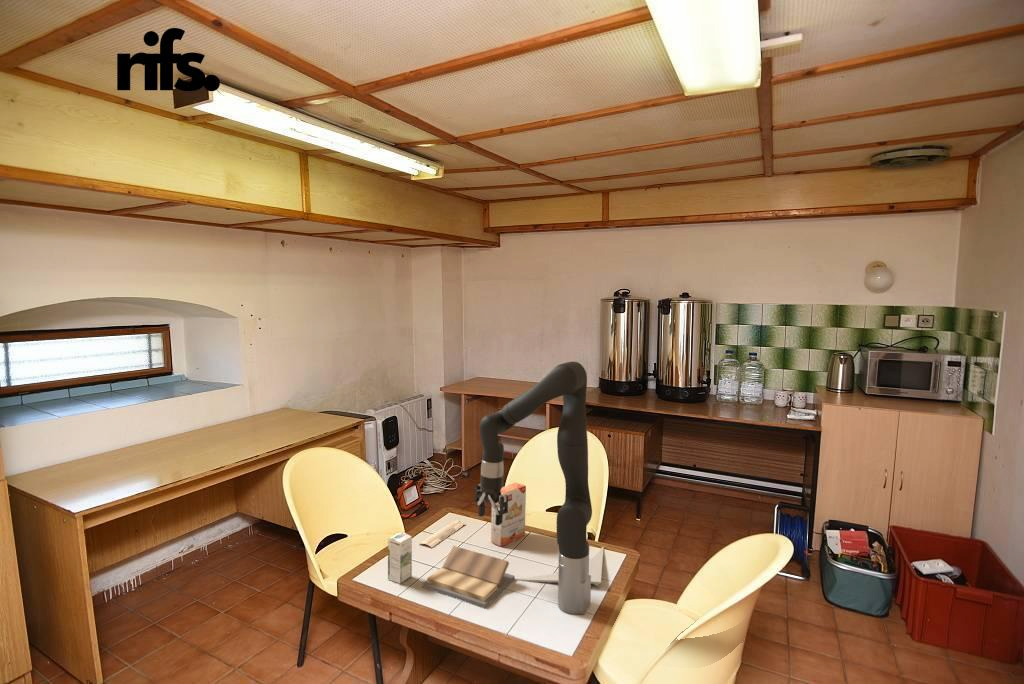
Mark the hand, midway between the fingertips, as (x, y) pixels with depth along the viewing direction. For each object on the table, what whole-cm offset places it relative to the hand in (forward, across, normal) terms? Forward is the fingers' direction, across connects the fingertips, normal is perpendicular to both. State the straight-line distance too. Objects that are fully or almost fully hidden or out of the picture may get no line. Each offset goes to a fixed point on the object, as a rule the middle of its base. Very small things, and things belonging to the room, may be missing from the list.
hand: (489, 520), depth 172 cm
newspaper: (+23, +37, -9) cm, 44 cm away
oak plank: (+20, +1, +10) cm, 22 cm away
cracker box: (+21, +16, -25) cm, 37 cm away
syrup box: (+22, +20, +21) cm, 37 cm away
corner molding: (+20, -10, -27) cm, 35 cm away
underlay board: (+21, +2, +6) cm, 22 cm away
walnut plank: (+17, +4, +2) cm, 17 cm away
